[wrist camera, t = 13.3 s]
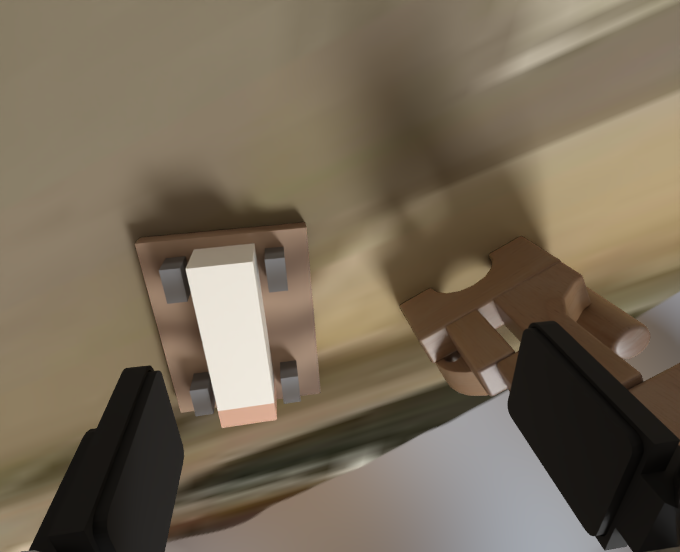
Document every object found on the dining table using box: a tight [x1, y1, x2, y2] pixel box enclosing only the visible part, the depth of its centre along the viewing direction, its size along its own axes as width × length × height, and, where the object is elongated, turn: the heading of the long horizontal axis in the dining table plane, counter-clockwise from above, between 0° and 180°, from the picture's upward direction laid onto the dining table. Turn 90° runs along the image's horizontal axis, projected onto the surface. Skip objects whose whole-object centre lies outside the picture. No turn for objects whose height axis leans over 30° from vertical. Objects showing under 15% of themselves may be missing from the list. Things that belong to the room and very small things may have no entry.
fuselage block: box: [186, 243, 277, 428], centre depth 38 cm, size 16×5×4 cm, turn 3°
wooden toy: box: [400, 236, 680, 446], centre depth 32 cm, size 15×7×25 cm, turn 120°
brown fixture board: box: [135, 222, 321, 416], centre depth 39 cm, size 18×14×4 cm
